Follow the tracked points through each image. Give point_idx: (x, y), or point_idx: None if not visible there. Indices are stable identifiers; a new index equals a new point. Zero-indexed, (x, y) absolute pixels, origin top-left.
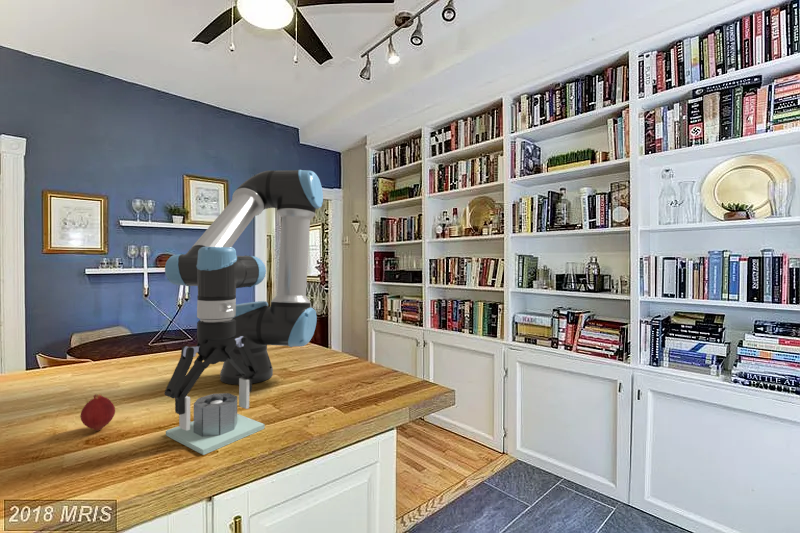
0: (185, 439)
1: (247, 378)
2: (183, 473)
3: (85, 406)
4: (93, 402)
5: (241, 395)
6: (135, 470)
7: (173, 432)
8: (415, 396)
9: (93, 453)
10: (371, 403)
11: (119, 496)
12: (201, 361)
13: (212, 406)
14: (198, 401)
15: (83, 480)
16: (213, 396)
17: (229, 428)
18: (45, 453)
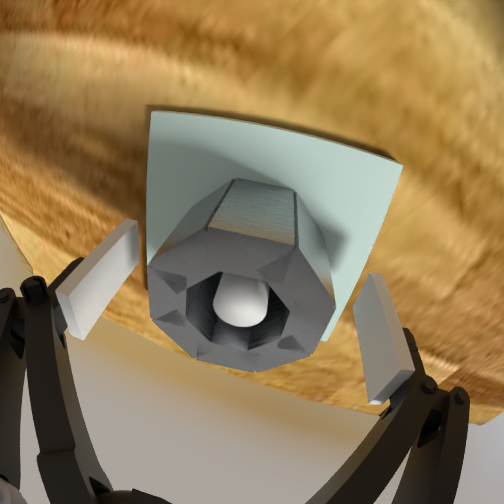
0: (149, 225)
1: (390, 399)
2: None
3: None
4: None
5: (373, 318)
6: (54, 221)
7: (156, 147)
8: (476, 414)
9: (36, 69)
10: None
11: (34, 266)
12: (85, 484)
13: (180, 340)
14: (177, 262)
15: (8, 175)
16: (267, 276)
17: None
18: (16, 6)
